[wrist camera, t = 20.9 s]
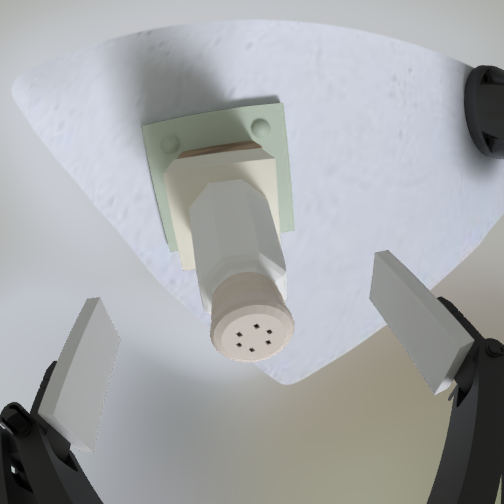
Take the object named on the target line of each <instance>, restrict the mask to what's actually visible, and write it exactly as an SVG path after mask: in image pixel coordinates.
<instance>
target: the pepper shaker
mask: <svg viewBox="0 0 504 504" xmlns="http://www.w3.org/2000/svg"><path fill="white" fill-rule="evenodd" d="M189 215H190V225H191V234H192V242H193V250H194V258H195V266H196V273H197V277H198V283H199V289H200V294H201V299H202V303H203V307H204V311H205V312H206V313H208V314H210V315H211V316H212V317H211V319H212V323H211V330H210V337H211V341H212V344H213V345H214V347H215V348H216V350H217V351H219V352H220V353H221V354H222V355H224V356H225V357H228V358H230V359H232V360H235V361H240V362H256V361H262V360H264V359H267V358H270V357H272V356H274V355H276V354H277V353H279V352H280V351H281V350H282V349H284V348H285V347H286V345H287V344H288V342H289V341H290V340H291V338H292V335H293V333H294V320H293V317H292V315H291V313H290V311H289V310H288V309H287V307H286V305H285V302H286V301H287V273H286V266H285V261H284V257H283V253H282V250H281V246H280V242H279V239H278V235H277V232H276V228H275V224H274V221H273V217H272V214H271V210H270V207H269V203H268V200H267V198H266V197H264V196H263V195H262V194H261V193H260V192H258V191H257V190H256V189H255V188H253V187H252V186H251V185H250V184H248V183H247V182H246V181H244V180H243V179H237V180H228V181H220V182H212V183H208V185H207V186H206V187H205V188H204V190H203V191H202V192H201V193H200V195H199V196H198V197H197V198H196V200H195V201H194V202H193V203H192V205H191V206H190V207H189Z"/></svg>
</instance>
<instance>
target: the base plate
mask: <svg viewBox="0 0 504 504" xmlns="http://www.w3.org/2000/svg"><path fill="white" fill-rule="evenodd" d="M142 132H143V137H144V142H145V147H146V152H147V157H148V162H149V167H150V172H151V176H152V181H153V185H154V189H155V194H156V198H157V202H158V206H159V210H160V214H161V218H162V222H163V226H164V230H165V234H166V238H167V241H168V245H169V249H170V252H174V251H179V250H178V246H177V241H176V237H175V232H174V227H173V222H172V218H171V213H170V208H169V202H168V197H167V192H166V187H165V181H164V175H163V173H164V172H165V171H166V169H167V168H168V167H169V165H170V164H171V163H172V161H173V160H175V159H177V158H178V157H179V155H180V154H181V153H182V152H184V151H189V150H195V149H200V148H205V147H211V146H217V145H223V144H229V143H236V142H243V141H250V140H253V141H255V142H256V143H258V144H259V145H261V146H262V149H263V150H264V151H266V152H267V153H269V154H270V155H271V156H273V157H274V158H275V160H276V174H277V190H278V206H279V224H280V233H283V232H289V231H295V228H294V214H293V200H292V187H291V175H290V164H289V153H288V143H287V133H286V124H285V115H284V106H283V103H275V104H264V105H254V106H246V107H238V108H230V109H223V110H217V111H211V112H205V113H199V114H194V115H189V116H183V117H179V118H174V119H169V120H165V121H160V122H156V123H152V124H148V125H144V126H142Z"/></svg>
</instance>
